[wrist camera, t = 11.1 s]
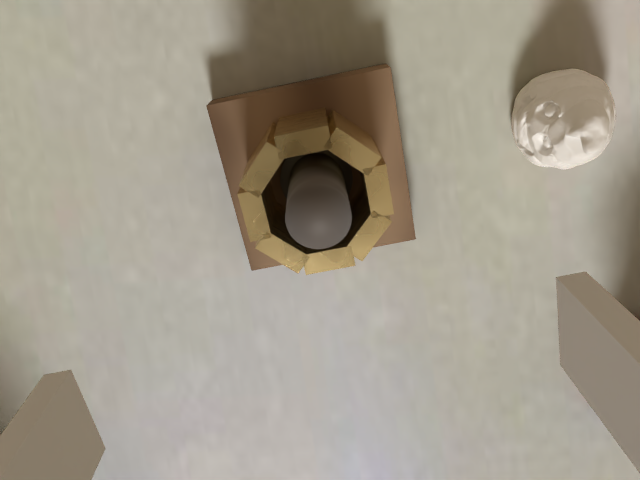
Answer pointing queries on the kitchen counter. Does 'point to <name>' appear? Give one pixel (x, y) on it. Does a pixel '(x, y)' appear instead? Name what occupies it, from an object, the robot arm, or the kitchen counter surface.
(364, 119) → the shaft block
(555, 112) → the garlic bulb
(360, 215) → the ring
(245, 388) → the kitchen counter surface
